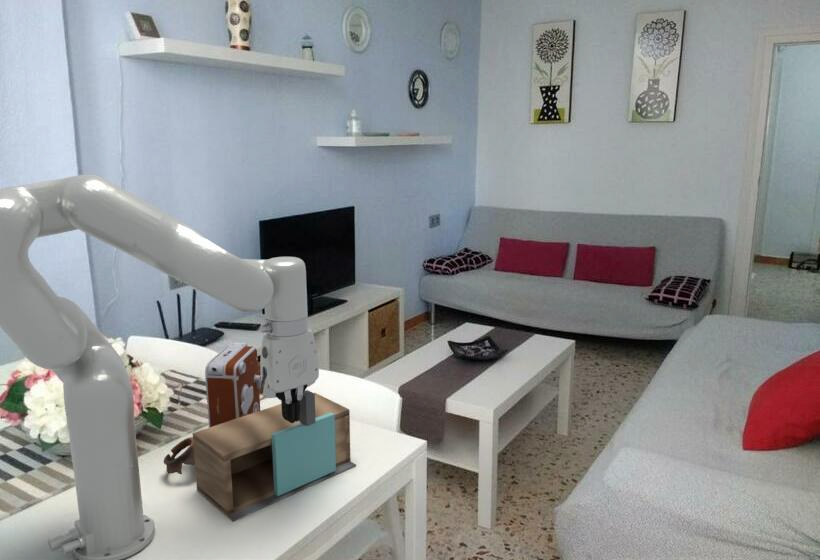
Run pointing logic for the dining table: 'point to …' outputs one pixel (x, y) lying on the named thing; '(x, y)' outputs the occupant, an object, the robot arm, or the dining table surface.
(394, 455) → the dining table surface
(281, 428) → the cabinet
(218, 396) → the cine camera
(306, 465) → the door
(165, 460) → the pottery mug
